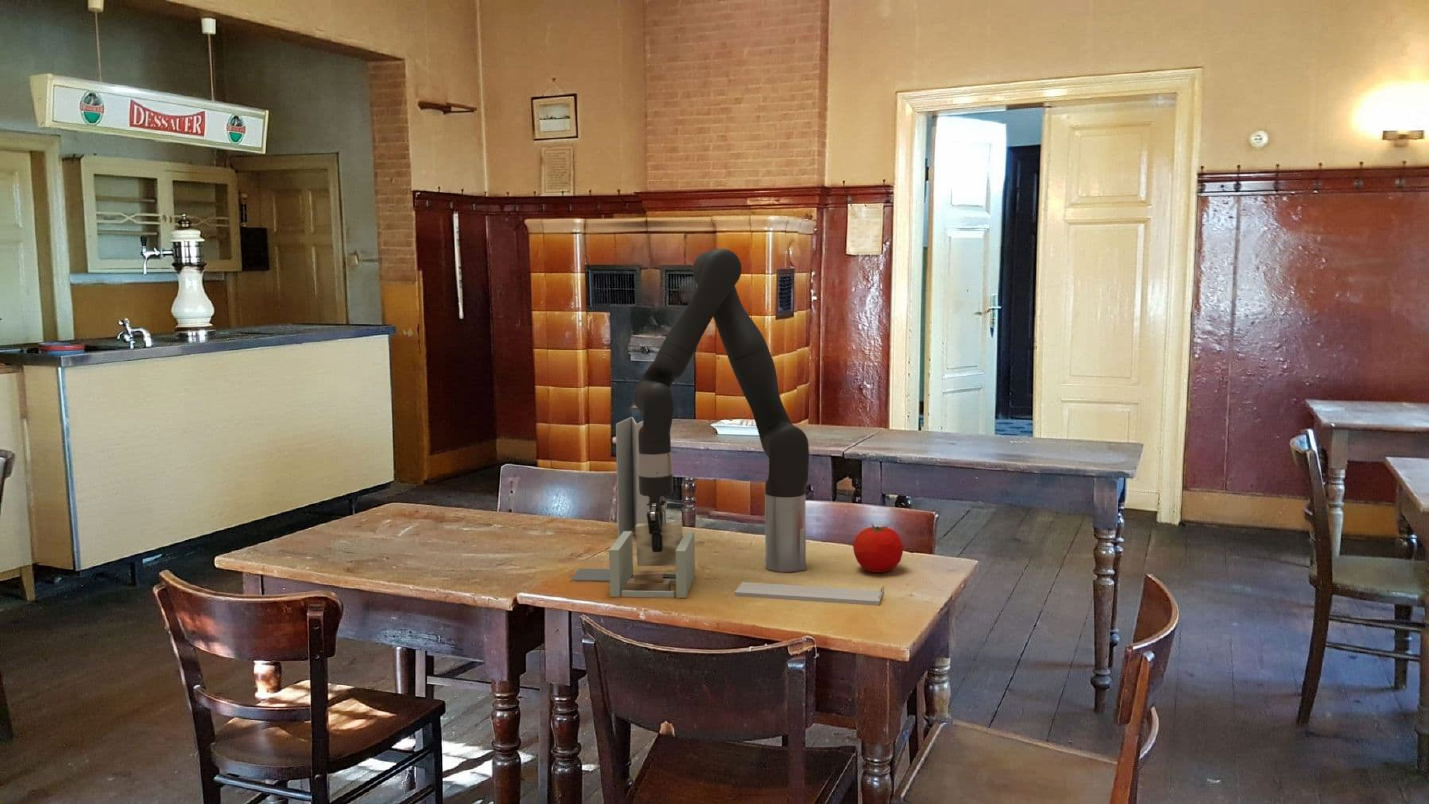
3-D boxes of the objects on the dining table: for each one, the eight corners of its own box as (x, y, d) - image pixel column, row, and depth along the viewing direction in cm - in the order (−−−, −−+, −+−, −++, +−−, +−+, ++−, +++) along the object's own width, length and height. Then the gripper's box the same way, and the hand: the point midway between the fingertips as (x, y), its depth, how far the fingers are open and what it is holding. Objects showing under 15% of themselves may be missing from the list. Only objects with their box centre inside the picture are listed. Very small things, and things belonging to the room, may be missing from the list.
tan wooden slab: (684, 562, 230) (682, 522, 229) (682, 565, 227) (680, 525, 226) (639, 563, 231) (637, 523, 230) (637, 566, 228) (635, 526, 227)
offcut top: (662, 579, 220) (662, 569, 220) (663, 582, 218) (662, 573, 217) (634, 580, 220) (634, 571, 220) (634, 584, 217) (634, 574, 217)
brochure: (638, 540, 265) (636, 424, 261) (618, 539, 266) (615, 424, 262) (653, 528, 279) (651, 417, 275) (633, 527, 280) (631, 416, 276)
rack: (694, 575, 232) (694, 532, 231) (685, 598, 216) (685, 551, 215) (624, 574, 234) (623, 531, 233) (610, 596, 217) (609, 549, 216)
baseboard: (745, 585, 227) (734, 598, 217) (744, 572, 227) (734, 585, 217) (884, 593, 219) (879, 608, 210) (884, 580, 219) (879, 594, 209)
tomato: (910, 566, 238) (911, 522, 237) (891, 580, 227) (892, 534, 226) (864, 560, 244) (865, 517, 243) (844, 573, 233) (844, 529, 232)
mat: (622, 571, 237) (622, 569, 237) (614, 582, 228) (614, 580, 228) (579, 570, 238) (579, 568, 238) (570, 581, 229) (570, 579, 229)
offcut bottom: (670, 593, 220) (670, 579, 220) (668, 597, 217) (668, 583, 217) (629, 592, 221) (628, 579, 221) (626, 596, 218) (626, 583, 218)
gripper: (668, 478, 219) (671, 558, 221) (676, 466, 233) (679, 541, 235) (633, 478, 220) (636, 558, 222) (643, 467, 234) (646, 542, 236)
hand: (658, 549), depth 229 cm, fingers closed on tan wooden slab, 2 cm apart
